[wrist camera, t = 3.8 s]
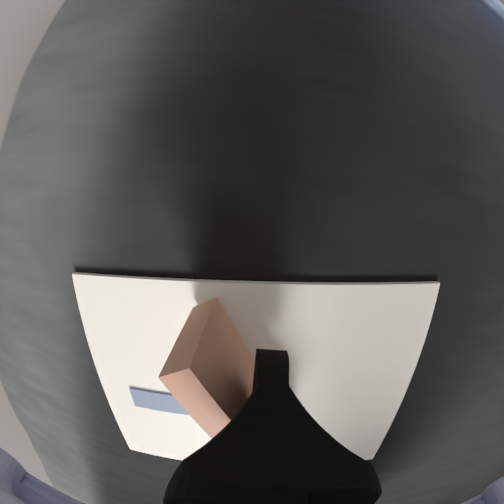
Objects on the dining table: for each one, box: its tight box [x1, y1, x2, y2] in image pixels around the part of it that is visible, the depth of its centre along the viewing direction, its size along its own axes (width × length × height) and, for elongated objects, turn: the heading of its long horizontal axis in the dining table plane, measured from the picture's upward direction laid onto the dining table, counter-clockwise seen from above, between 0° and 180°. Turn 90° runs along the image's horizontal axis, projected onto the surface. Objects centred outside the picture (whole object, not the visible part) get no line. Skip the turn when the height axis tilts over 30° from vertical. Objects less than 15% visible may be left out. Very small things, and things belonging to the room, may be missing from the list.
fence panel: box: [158, 298, 255, 438], centre depth 11 cm, size 9×2×5 cm, turn 26°
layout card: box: [72, 272, 440, 460], centre depth 15 cm, size 15×19×1 cm
